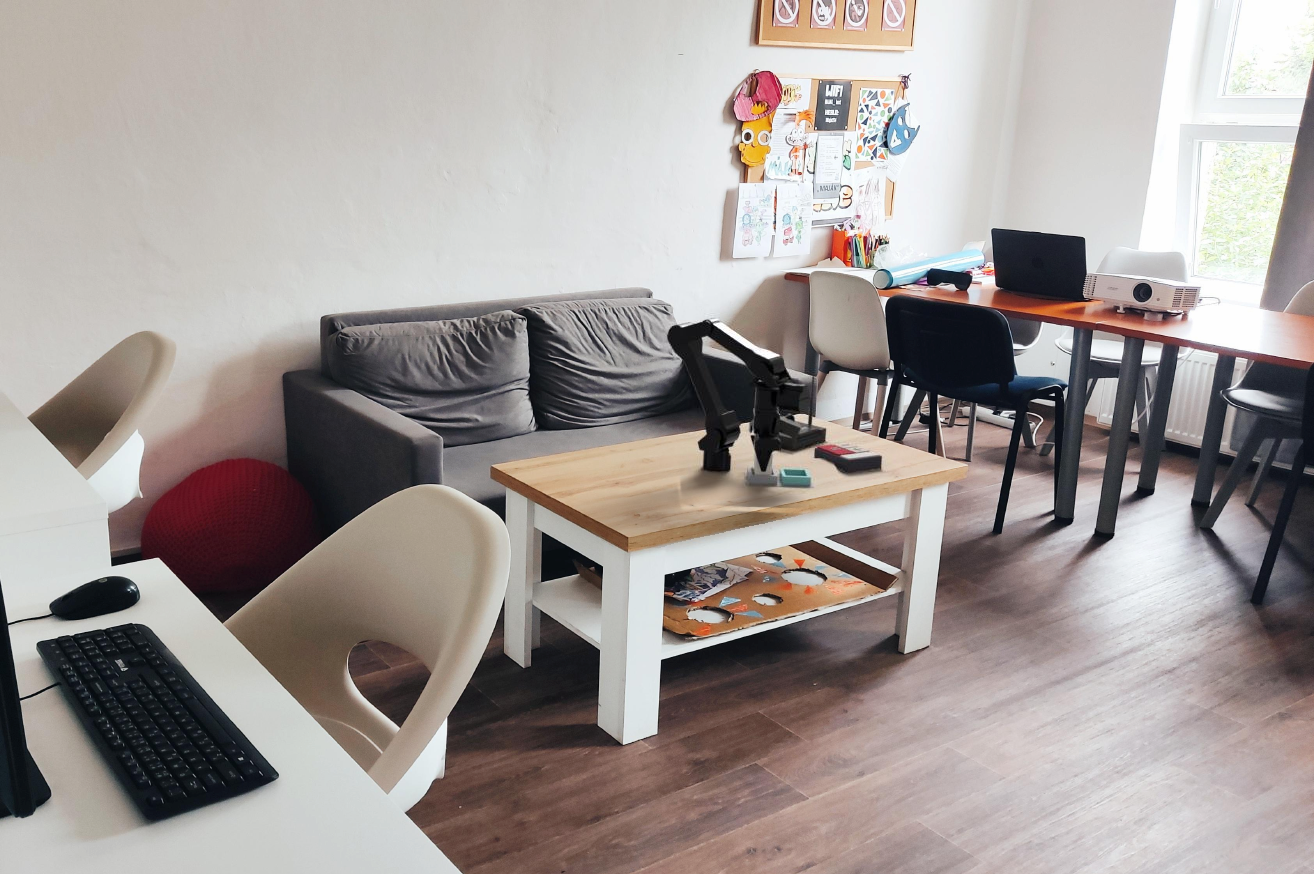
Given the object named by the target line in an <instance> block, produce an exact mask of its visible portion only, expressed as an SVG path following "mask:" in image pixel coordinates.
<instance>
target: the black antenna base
mask: <svg viewBox="0 0 1314 874" xmlns="http://www.w3.org/2000/svg"><path fill="white" fill-rule="evenodd" d="M814 384H815V375H812V378H811V389H810V398H811V401H810V406H809V408H808V419H807V420H808V421H807V423H805V422H801V421H796V420H795V422H798V423H799V424H800V425H801V430H800V432H799V434H798V436H797V439H793V438H791V437H790V436H788V435H785V434H783V433H780V432H779V435H777V436H778V438H779V439H780V440H781V443H782V444H781V450H784V451H789V452H795V451H798V450H801V449H804V448H807V447H811V446H813V445H816V444H817V445H818V444H820V443H824V442H826V439H827V428H826V427H822V426H818V425H813V413H814V412H813V411H814V387H815V385H814ZM772 435H774V434H772Z"/></svg>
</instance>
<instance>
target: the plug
mask: <svg viewBox="0 0 1314 874" xmlns="http://www.w3.org/2000/svg"><path fill="white" fill-rule="evenodd" d="M753 455H754V456H753V459H754V460H753V467H754V471H753V475H772V468H773V460H774V459H773V457H774V452H773V453H772V454H771V457H770V460H769V463H768V466H767V469H766V472H761V469H760V466H759V463H758V460H757V457H756V453H755V452H754V454H753Z"/></svg>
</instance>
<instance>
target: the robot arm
mask: <svg viewBox="0 0 1314 874" xmlns="http://www.w3.org/2000/svg"><path fill="white" fill-rule="evenodd" d="M705 337H708V338H709V339H711V340H713V342H715V343H717V344H718V345H719V346H721V347H722V348H724V349H726V350H727V352H729V353H730V354H732V355H734V356H735V357H737V358H738V359H739V360H741V361H742V362H743V363H744V364H745V366H746V368H747V370H748V371H749V373H750V374H752V375H753V376H754V377H753V379H752V380H751V381H750V382H748V383H747V386H748V387H751V388H755V393H754V395H755V396H754V407H753V410H752V411H753V419H751V421H750V422H749V424H748V432H749V433H750V434H751V433H753V434H751V435H750V436H749V437H750V440H751V443H752V446H753V449H754V454H755V453H756V457H757V460H758V463H759V466H760V469H761V472H766V469H767V466H768V463H769V460H770V457H771V454H772V453H773V454H774V452H780V451H782V449H781V444H782V443H781V440H780V439H779V438H778V436H777V435H779V432H780V433H783V434H785V435H788V436H790V437H791V438H793V439H797V436H798V434H799V432H800V430H801V425H800V424H799V423H798V422H799V421H797V422H795V421H796V420H795V417H796V416H795V415H793V414H791V413H796V414H800V415H805V414H806V413H807V412H808V411H809V406H810V401H811V398H810V396H811V394H810V392H809V390H808V386H807V384H802V383H800V384H798V383H793V382H794V380H793V378H792V376H791V375H790V373H789V371H788V369H787V368H786V364H785V359H784V357H782V356H781V354H778V353H775V352H773V351H771V350H769V349H765V348H761V347H758V346H756V345H755V344H753V343H752V342H750V341H749V340H747V339H746V338H745V337H744V336H741V335H740V334H739V333H737V332H736V331H734V330H733V329H731V328H730V327H728V325H725V324H724V323H722V321H721V320H720V319H718V318H716V317H713V318H706V319H704V320H702V321H699V322H696V323H694V322H691V321H690V322H684V323H679V324H678V323H677V324H674V325H672V326H671V327H669V328H668V332H667V334H666V340H667V342H668V344H669V346H670V347H671V349H672V351H673V353H675V354H676V355H677V357H679V359H681V360H682V361H683V363H684V365H685V367H686V370H687V372H688V374H689V377H690V379H691V383H692V385H693V388H694V389H695V392H696V395H697V397H698V399H699V401H700V404H701V407H702V408H703V411H704V414H705V415H704V416H705V418H704V428H705V429H704V430H705V433H706V434H705V435H704V436H703V437H702V438H700V440H698V441H697V446H698V449H699V451H702V470H703V471H707V472H711V473H713V472H714V473H722V472H729V471H731V468H732V467H731V465H732V453H730V448H733V447H734V444H735V442H736V441H738V440H739V437H740V434H741V427H740V426H742V423H740V422H739V420H738V417H737V416H738V415H737V413H736V411H735V410H731V411H729V410H728V409H727V408H726V407H725V406H724V404H723V402H722V400H721V397H720V394H719V392H718V390H717V387H716V385H715V382H714V380H713V378H712V375H711V372H710V369H709V368H708V365H707V363H706V360H705V358H704V355H703V345H704V343H703V342H704V341H703V338H705ZM779 410H780V411H786V412H790V413H787V414H786V415H785V416H784V415H782V416H781V414H780V413H779ZM772 434H774V435H772Z"/></svg>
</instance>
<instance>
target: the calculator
mask: <svg viewBox="0 0 1314 874" xmlns="http://www.w3.org/2000/svg"><path fill="white" fill-rule="evenodd" d="M813 458H814V459H821V460H822V459H823V460H824V459H825V460H827V461H829V462H832V463H833V465H834V467H835V468H837V469H838V470H839V471H842V472H844V473H846V474H852V473H858V472H866V471H874V470H881V469H882V463H883V456H882V455H881V454H880V453H877V452H873V451H870V449H867V448H864V447H861V446H858V445H856V444H853V443H849V442H842V443H833V444H825V445H824V444H823V445H817V446H816V447H815V448H814V455H813Z"/></svg>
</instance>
